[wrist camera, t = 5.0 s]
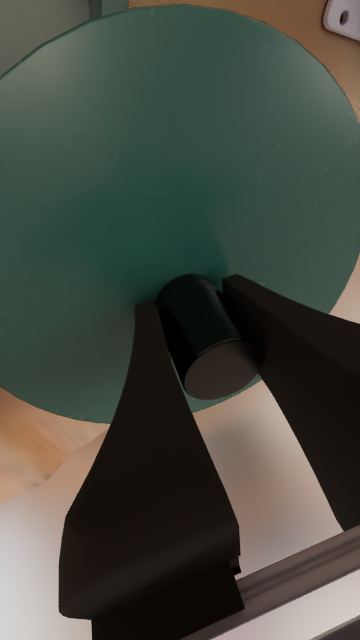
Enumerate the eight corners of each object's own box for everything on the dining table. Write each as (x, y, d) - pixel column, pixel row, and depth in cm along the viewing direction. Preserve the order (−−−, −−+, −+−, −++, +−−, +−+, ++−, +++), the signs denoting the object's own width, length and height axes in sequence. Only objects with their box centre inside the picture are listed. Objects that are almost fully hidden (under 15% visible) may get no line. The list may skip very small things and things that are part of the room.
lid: (411, -36, 8) (703, -137, 4) (314, 351, 18) (374, 416, 14) (-254, 84, 6) (-762, 85, 2) (68, 440, 16) (68, 538, 13)
